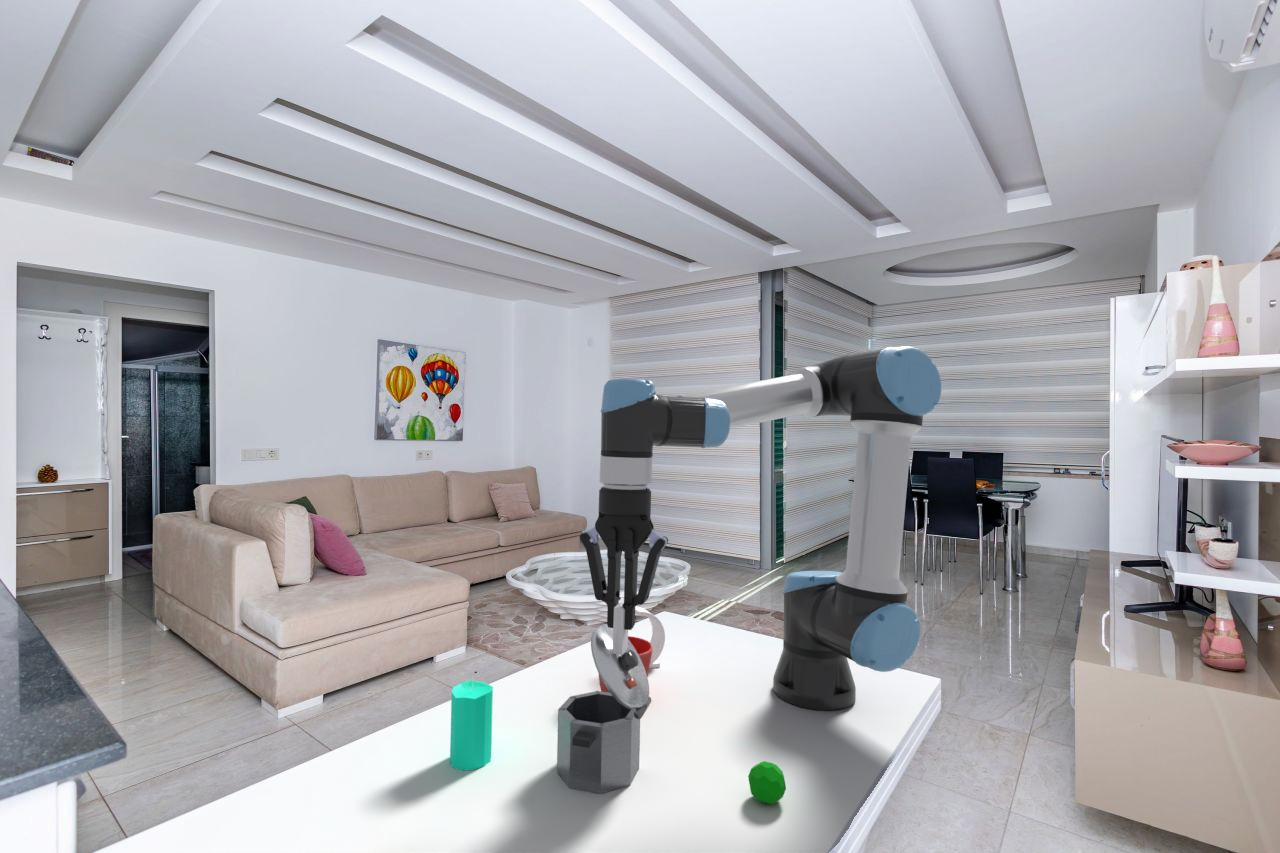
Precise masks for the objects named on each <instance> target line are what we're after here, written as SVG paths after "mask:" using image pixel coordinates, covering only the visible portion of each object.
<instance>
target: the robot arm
mask: <svg viewBox="0 0 1280 853" xmlns="http://www.w3.org/2000/svg"><path fill="white" fill-rule="evenodd" d="M941 395H942V380H941V375H940V372H939V369H938V368H937V366H936V364H935V363H934V362H933V360H932V358H931V357H930V355H928V354H927V353H926V352H924V351H923V350H921V349H919V348H917V347H913V346H888V347H885V348H880V349H876V350H868V351H862V352H854V353H849V354H845V355H841V356H839V357H834V358H832V359H829V360H825V361H823V362H819V363H815V364H812V365H809V366H805V367H804V366H803V367H799V368H797V369H796V370H794V371H793V372H792V374H790V375H789V374H788V375H785V376H784V375H783V376H779V377H777V376H776V377H773V378H769V379H762V380H756V381H751V382H745V383H739V384H735V385H728V386H725V387H724V386H723V387H717V388H712V389H707V390H703V391H697V392H691V393H687V394H681V395H677V396H665V395H661V394H657V393H656V388H655V384H654V382H653V381H651V380H649V379H642V378H613V379H612V378H611V379H609V380H608V381H607V382H605V384H604V386H603V392H602V397H601V398H602V399H601V400H602V401H601V410H600V413H601V427H600V429H601V430H600V432H601V433H600V435H601V436H600V437H601V438H600V458H599V459H600V460H599V461H600V462H599V463H600V464H599V480H598V481H599V483H600V484H602V485H603V486H601V487H600V489H599V490H598V492H599V493H598V516H597V519H596V520H595V522H594V526H593V527H592V528H591V529H589V530H587V531H584V532H583V533H580V534H579V540H580V541H581V543H582V545H583V546H584V549H585V551H586V557H587V562H588V567H589V572H590V578H591V582H592V583H591V584H592V588H593V593H594V598H595V600H597V601H600V602H603V603H605V604H606V607H607V614H606V615H607V616H606V617H607V618H606V619H607V620H606V624H607V625H608V628H613V654H620V655H622V654H623V653H624V652H625V651H626V650H627V649H628V636H629V631H632V630H633V628H634V627H635V625H636V613H635V607H636V606H640V605H643V604H644V603H645V602H647V600H648V599H649V597H650V594H651V590H652V586H653V583H654V580H655V576H656V571H657V567H658V564H659V561H660V557H661V553H662V551H663V550H664V549H665V547H666V546H667V545H668V543H669V538H668V537H667V536H665V535H663V536H662V535H660V533H659V532H657V531H656V530H655V528H654V524H653V521H652V517H651V515H652V514H651V513H652V512H651V511H652V510H651V509H652V508H651V507H652V490H650V488H648V486H650V485H651V484H652V478H653V477H652V474H653V456H654V455H653V451H654V450H653V449H654V447H662V446H663V447H679V448H701V449H705V448H718V447H721V446H722V445H723V444H724V443H725V442H726V441H727V439H728V437H729V434H730V430H732V429H737V428H742V427H745V426H747V427H748V426H751V425H755V424H761V423H766V422H772V421H774V420H780V419H785V418H789V417H795V416H799V415H800V416H802V417H803V418H808V419H811V418H816V417H822V416H823V417H825V416H846V417H849V416H850V421H849V423H850V425H851V426H852V427H853V428H854V429H855V431H856V432H857V444H856V454H855V465H854V466H855V467H854V475H853V476H854V478H853V487H852V488H853V489H852V497H851V498H852V499H851V510H850V519H849V520H850V522H849V530H848V531H849V532H848V542H847V551H846V552H847V554H846V562H845V569H844V571H842V572H841V571H835V570H834V571H833V570H801V571H794V572H791V573H789V574H787V576H786V577H785V579H784V589H783V592H782V595H783V634H782V635H783V639H782V640H783V641H782V642H783V643H782V646H783V649H782V652H781V654H780V656H779V660H778V663H777V665H776V669H775V671H774V674H773V679H772V680H773V681H772V682H773V683H772V685H773V686H772V690H773V692H774V694H775V695H776V696H777V697H779V698H780V700H783V701H784V702H786V703H789V704H791V705H794V706H798V707H801V708H805V709H811V710H816V711H817V710H818V711H835V710H842V709H846V708H848V707H851V706H852V705H853V704H854V703H855V702H856V700H857V699H856V698H857V697H856V690H857V687H856V684H855V680H854V677H853V674H852V670H851V667H850V664H849V660H851V661H853V662H854V663H856V664H857V665H858V666H860V667H863V668H868V669H871V670H873V671H876V672H880V673H883V672H884V673H885V672H886V673H887V672H892V671H895V670H897V669H899V668H901V667H902V666H904V665H905V663H906V662H907V661H908V660H909V659H911V657H912V656H913V654H914V653H915V651H916V649H917V647H918V644H919V641H920V638H921V622H920V619H919V618H918V617H917V613H916V612H915V611H914V610H913V609H912V608H911V607H910V606H909V605H907V602H908V588H907V587H906V586H905V585H904V583H903V582H902V581H901V578H900V570H901V560H902V559H901V558H902V546H903V537H904V536H903V534H904V526H905V525H904V524H905V522H904V521H905V514H906V513H905V512H906V500H907V493H908V492H907V490H908V489H907V488H908V479H909V469H910V468H909V467H910V466H909V465H910V458H911V456H910V455H911V444H912V438H913V437H914V436H915V435H916V434H918V432H919V431H921V430H922V429H923V420H924V416H925V415H927V414H929V413H930V412H932V411H933V410H934V409H935V406H937V405H938V403H939V401H940V399H941ZM600 539H601V541H602V542H603V544H604V545H605V546H606V549H607V550H606V551H607V552H606V557H607V576H606V574H605V570H604V562H603V558H602V553H601V549H600V545H599V540H600ZM648 539H649V541H648V542H649V543H648V546H649V548H650V550H649V551H648V554H647V558H646V562H645V566H644V568H643V569H644V570H643V573H642V576H641V581H640V584H639V588H638V568H639V567H638V566H639V565H638V564H639V563H638V560H639V555H640V554H639V553H640V549H641V548H642V547H643V545H644V544H645V543H646V541H647V540H648ZM623 552H624V553H623ZM622 554H623V555H624V556H623V557H624V584H623V585H624V589H623V590H624V592H623V602H620V600H622V597H620V595H621V574H622V573H621V571H622V569H621V568H622V565H621V564H622ZM606 577H607V580H606ZM848 659H849V660H848Z"/></svg>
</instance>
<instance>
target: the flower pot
mask: <svg viewBox="0 0 1280 853" xmlns="http://www.w3.org/2000/svg"><path fill="white" fill-rule="evenodd" d="M628 639H629V641H630V642H631V643H632V645H633V646H634V648H635V650H636V651H637V653H638V655H639V657H640V659H641V661H642V663H643V666H644V668H645V671H646V674H647V678H648V677H649V673H650V672H649V671H650V669H649V667H650V662H651V657H652V650H653V647H652V644H651V643H650V641H648V640H646V639H644V638H641V637H638V636H637V637H636V636H629V635H628ZM597 673H598V672H597ZM598 680H599V687H600V691H602V692H609V690H608V689H607V687H606V686H605V684H604V683H603V681H602V679H601V677H600V675H599V673H598ZM609 693H610V692H609Z"/></svg>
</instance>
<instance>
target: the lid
mask: <svg viewBox="0 0 1280 853" xmlns="http://www.w3.org/2000/svg"><path fill="white" fill-rule="evenodd" d="M590 648H591V649H590V650H591V655H592V658H593V663H594V666H595V668H596V670H597V671H596V672H597V673H599V674H598V676H599V675H600V677H601V679H602V681H603V683H604V684H605V686H606V687H607V689H608V690H609V692H610V693H611V694H612V696H613V697H614V698H615V699H616V700H617V701H618V702H619V703H620V704H622V705H623V706H624V707H626V708H628V709H631V710H636V711H635V712H634V717H635V718H636V719H640V720H641V719H642V718H643V716H644V715H645V713H646V712H647V710H648V708H649V707H650V704H651V703H652V697H651V696H650V683H649V679H648V678H647V674H646V671H645V668H644V666H643V663H642V661H641V659H640V657H639V655H638V653H637V651H636V650H635V648H634V646H633V645H632V643H631V642H630V641H629V639H628V649H627V650H626V651H625V652H624V653H623V654H622V655H620V654H613V628H608V625H607V623H604V624H602V625H601V624H600V626H598V627H596V628H595V629H594V630H593V631H592V634H591V638H590Z"/></svg>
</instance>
